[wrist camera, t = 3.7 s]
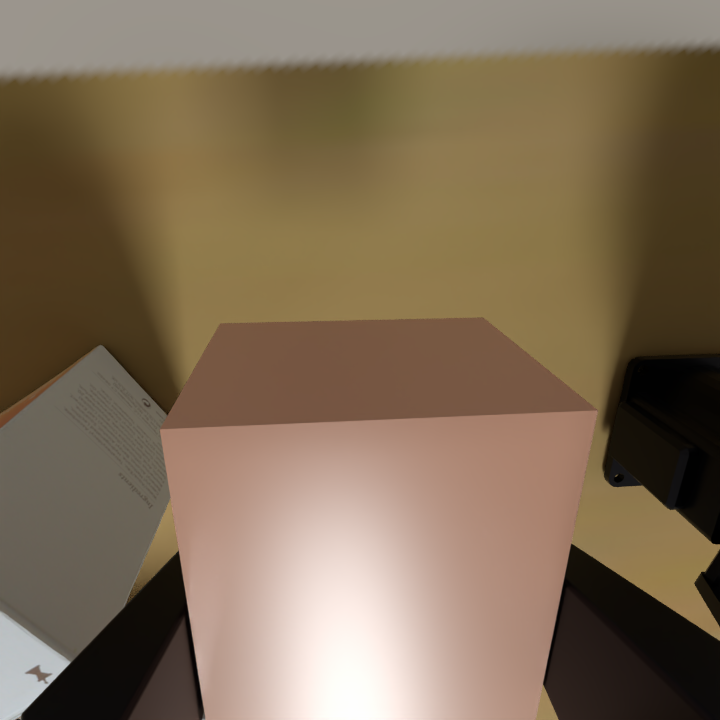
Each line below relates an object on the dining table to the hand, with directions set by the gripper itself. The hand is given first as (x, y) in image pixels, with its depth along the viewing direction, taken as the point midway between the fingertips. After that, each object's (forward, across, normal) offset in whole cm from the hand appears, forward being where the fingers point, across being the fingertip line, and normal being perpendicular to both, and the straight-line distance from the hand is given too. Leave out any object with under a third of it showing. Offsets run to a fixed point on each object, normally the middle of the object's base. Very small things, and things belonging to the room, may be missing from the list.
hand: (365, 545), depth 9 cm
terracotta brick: (+2, 0, 0) cm, 2 cm away
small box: (+12, +11, +4) cm, 17 cm away
